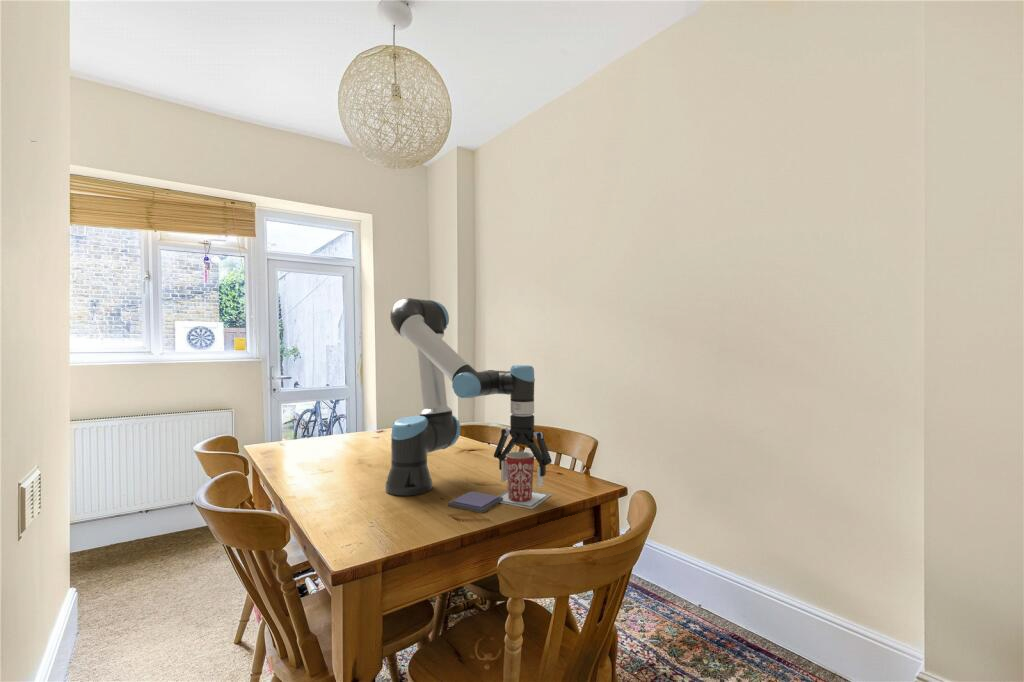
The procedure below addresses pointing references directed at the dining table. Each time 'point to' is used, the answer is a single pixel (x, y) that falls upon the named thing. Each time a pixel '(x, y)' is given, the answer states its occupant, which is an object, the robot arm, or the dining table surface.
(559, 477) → the dining table surface
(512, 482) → the mug
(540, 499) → the print card
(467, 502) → the ink pad
